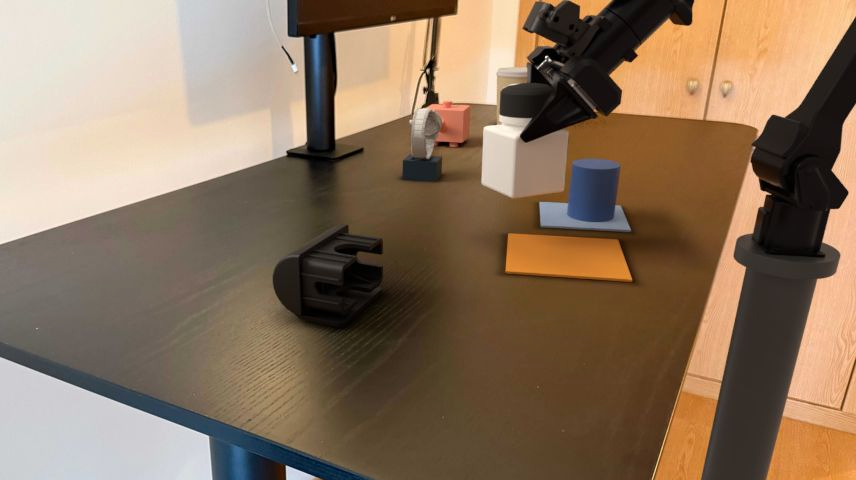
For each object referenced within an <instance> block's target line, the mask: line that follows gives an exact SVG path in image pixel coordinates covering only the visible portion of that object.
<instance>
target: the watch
mask: <svg viewBox="0 0 856 480" xmlns="http://www.w3.org/2000/svg"><path fill="white" fill-rule="evenodd" d="M408 123H409V126H410V125H411V137H410V145H411V146H410V151H411V154H408V155H407V156H406V157H405V158H403V159H402V180H407V181H423V182H424V181H425V182H437V181H438V180H439V179H440V178H441V177H442V175H443V173H442V172H443V156H442V155H441V156H440V155H433V152H434V148H435V146H434V143H435V139H437V137H438V134H439V131H440V128H441V126H442V118H441V116H440V114H439V113H437V112H436V111H435V110H432V109H428V108H426V107H423V108H416V109H415V110H414V112H413V116H412V119H410V120H409V122H408Z"/></svg>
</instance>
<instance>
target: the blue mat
mask: <svg viewBox="0 0 856 480" xmlns="http://www.w3.org/2000/svg"><path fill="white" fill-rule="evenodd" d="M538 204H539V205H538V206H539V221H540V228H543V229H547V228H548V229H562V230H563V229H564V230H565V229H566V230H581V231H583V230H584V231H600V232H616V233H617V232H618V233H620V232H621V233H632V229H631V226H630V224H629V222H628V220H627V217H626V215H625V213H624V210H623V208H622V205H618V204H616V206H615V213H614V218H613V219H612V220H609V221H604V222H587V221H581V220H576V219H573V218H571V217H569V216H568V215H567V209H568V202H551V201H539V203H538Z"/></svg>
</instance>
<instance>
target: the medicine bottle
mask: <svg viewBox="0 0 856 480" xmlns="http://www.w3.org/2000/svg"><path fill="white" fill-rule="evenodd" d="M551 93H552V87H550V86H548V85H546V84H539V83H518V84H511V85H508V86H506V87H504V88H503V89H502V90H501V91H500V111H499V121H500V122H502V124H501V125H497V124H493V125H492V124H491V125H485V126H484V127H483V129H482V130H483V132H482V156H481V157H482V158H481V181H480V182H481V185H482V186H483V187H485V188H488V189H490V190H492V191H495V192H496V193H499V194H500V195H504V196H505V197H508V198H510V199H513V200H515V199H520V198H521V199H522V198H528V197H537V196H541V195H542V196H543V195H550V194H555V193H556V194H557V193H563V192H565V186H566V175H567V161H568V151H569V150H568V149H569V141H570V140H569V139H570V138H569V137H570V131H569V130H568V129H566V128H564V129H561V130H559V131H556V132H553V133H551V134H548V135H546V136H543V137H540V138H538V139H535V140H533V141H530V142H528V143H525V142H524V141H523V140H522V139H521V138H520V134H521V132H522V131H523V130H524V128H525V127H526V126H527V124H528V123H529V122H530V121H531V119H532V118H533V117H534V115H535V114H536V113H537V112H538V110H539V109H540V108H541V107H542V105H543V104H544V103H545V102H546V100H547V99H548V98H549V97H550V95H551Z"/></svg>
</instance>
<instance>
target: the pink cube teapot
mask: <svg viewBox="0 0 856 480" xmlns="http://www.w3.org/2000/svg"><path fill="white" fill-rule="evenodd" d="M425 108H428V109H432V110H435V111H436V112H437V113H439V114H440V116H441V118H442V126H441V128H440V131H439V134H438V137H437V139H435V143H434V147H437V146H438V145H439V143H441V142H442V143H443V142H445V143H448V144H449V147H451V148H458V147H459V144H462V143H464V142H465V141H466V140H467V139H468V138H469V137H470V121H471V105H467V104H453V101H452V100H443V101H442V104H441V103H439V104H438V103H432V104H430V105H428V106H427V107H425Z"/></svg>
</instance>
